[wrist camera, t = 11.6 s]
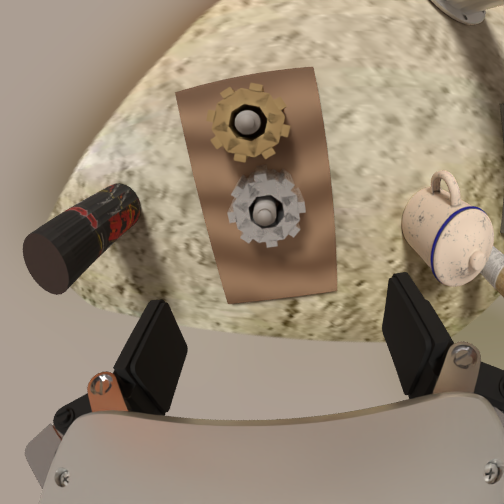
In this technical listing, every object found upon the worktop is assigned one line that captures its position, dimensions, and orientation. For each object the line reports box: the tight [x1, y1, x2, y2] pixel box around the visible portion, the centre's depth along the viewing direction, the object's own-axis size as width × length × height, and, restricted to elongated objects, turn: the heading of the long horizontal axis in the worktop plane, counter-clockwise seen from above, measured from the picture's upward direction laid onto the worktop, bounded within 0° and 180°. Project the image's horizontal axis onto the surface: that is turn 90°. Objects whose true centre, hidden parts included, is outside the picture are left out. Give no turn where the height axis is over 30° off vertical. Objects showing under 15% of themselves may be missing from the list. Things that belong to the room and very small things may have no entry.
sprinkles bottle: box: [480, 246, 504, 297], centre depth 24 cm, size 5×5×14 cm
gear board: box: [175, 67, 337, 304], centre depth 26 cm, size 26×14×8 cm, turn 10°
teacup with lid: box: [402, 170, 494, 286], centre depth 23 cm, size 12×9×12 cm
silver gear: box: [227, 164, 306, 248], centre depth 26 cm, size 7×7×5 cm
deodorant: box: [23, 184, 141, 295], centre depth 25 cm, size 6×6×15 cm
